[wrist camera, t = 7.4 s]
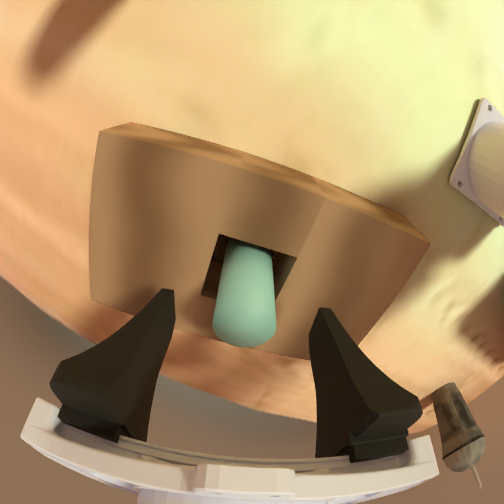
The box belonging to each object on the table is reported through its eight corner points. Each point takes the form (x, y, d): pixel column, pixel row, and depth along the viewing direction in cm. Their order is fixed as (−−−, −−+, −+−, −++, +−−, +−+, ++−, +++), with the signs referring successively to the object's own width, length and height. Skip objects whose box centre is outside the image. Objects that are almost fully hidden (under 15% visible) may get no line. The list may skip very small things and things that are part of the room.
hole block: (404, 216, 18) (430, 244, 15) (332, 330, 24) (340, 364, 21) (130, 122, 15) (99, 131, 12) (111, 268, 21) (91, 299, 18)
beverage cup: (416, 404, 34) (442, 507, 17) (442, 379, 31) (479, 491, 13) (443, 400, 35) (471, 492, 18) (469, 375, 31) (505, 473, 14)
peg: (273, 226, 19) (282, 307, 12) (266, 262, 20) (270, 349, 14) (229, 220, 19) (213, 300, 12) (226, 257, 20) (211, 343, 14)
